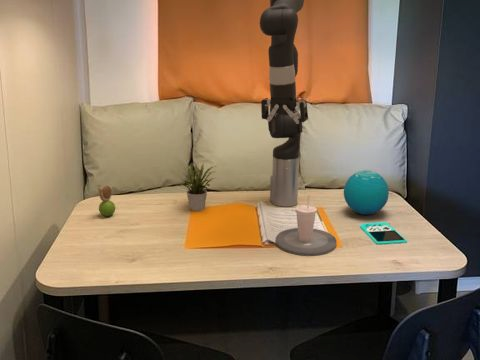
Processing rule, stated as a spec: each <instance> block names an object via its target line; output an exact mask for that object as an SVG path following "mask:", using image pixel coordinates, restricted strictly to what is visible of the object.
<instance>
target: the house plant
mask: <svg viewBox="0 0 480 360" xmlns="http://www.w3.org/2000/svg"><path fill="white" fill-rule="evenodd" d="M192 163H193V164H192V165H193V167H194V170H193V168H192V167H191V166H190V165H189V164H188V165H187V167H188V170H189V174H190V176H189V175H188V174H186V173H184V172H183V171H181V170H180V169H177V171H179V172H180V173H182V174H183V175H184V177H186V178H187V180H188V181H189V182H188V181H187V180H185V179H183V178H181V180H182V182H183V183H181V184H179V186H184V187H186V188H187V189H188V190H187V191H186V196H187V202H188V206H189V210H190V211H192V212H200V211H204V210H205V207H206V201H207V197H208V196H207V194H208V187H210V186H211V184H210V182H212V181H213V180H214V179H216V177H215V178H210V179H208V178H209V176H210V175H212V173H215V172H216V171H217V170H216V171H211V170H212V169H213V168H215V167H217V165H215V166H211V167H209V168H207V170H205V171H204V166H205V165H204V163H203V164H202V165H201V166H200V169H199V170H198V168H197V166H196V164H195V163H194V162H192ZM203 172H204V173H203ZM205 177H206V178H205ZM205 182H206V183H205ZM206 189H207V190H206Z"/></svg>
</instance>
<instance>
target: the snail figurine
mask: <svg viewBox="0 0 480 360" xmlns="http://www.w3.org/2000/svg"><path fill="white" fill-rule="evenodd" d="M96 186H97V191H98V196H99V198H100V200H101V202H100V204H99V206H98V211H99V213H100V214H101V216H104V217H110V216H112V215H114V213H115V212H116V204H115V203H114V202H113V201H112V200H111V198H112V196H111V195H112V188H111V186H109V185H105V186H103V188H102V187H101V184H97V185H96Z"/></svg>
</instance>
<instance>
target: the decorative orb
mask: <svg viewBox="0 0 480 360" xmlns="http://www.w3.org/2000/svg"><path fill="white" fill-rule="evenodd" d="M389 188H390V187H389V186H388V183H387V181H386V180H385V178H384V177H383V176H382V175H381V174H380V173H377V172H375V171H372V170H366V169H365V170H364V169H363V170H360V171H357V172H355V173H353V174H352V175H350V176H349V177H348V179H347V180H346V182H345V185H344V187H343V198H344V200H345V203H346V204H347V206H348V207H349V208H350V210H352V211H353V212H355V213H357V214H358V215H359V214H360V215H372V214H376V213H378V212H380V210H382V209H383V208H384V207H385V206H386V204H387V202H388V199H389V194H390V191H389Z"/></svg>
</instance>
